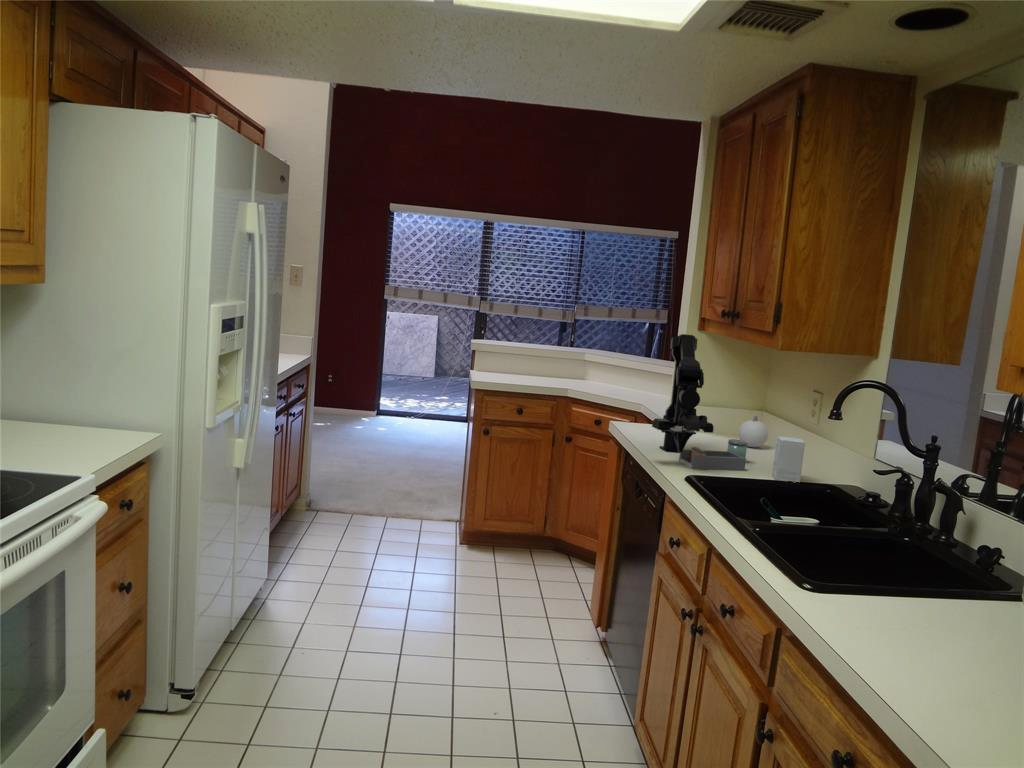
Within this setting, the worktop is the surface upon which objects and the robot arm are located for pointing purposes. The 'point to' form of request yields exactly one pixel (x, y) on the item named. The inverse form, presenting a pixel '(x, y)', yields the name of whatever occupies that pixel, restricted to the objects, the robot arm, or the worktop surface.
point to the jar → (737, 447)
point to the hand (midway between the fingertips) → (679, 452)
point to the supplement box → (788, 459)
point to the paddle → (697, 452)
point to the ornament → (753, 432)
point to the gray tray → (713, 460)
